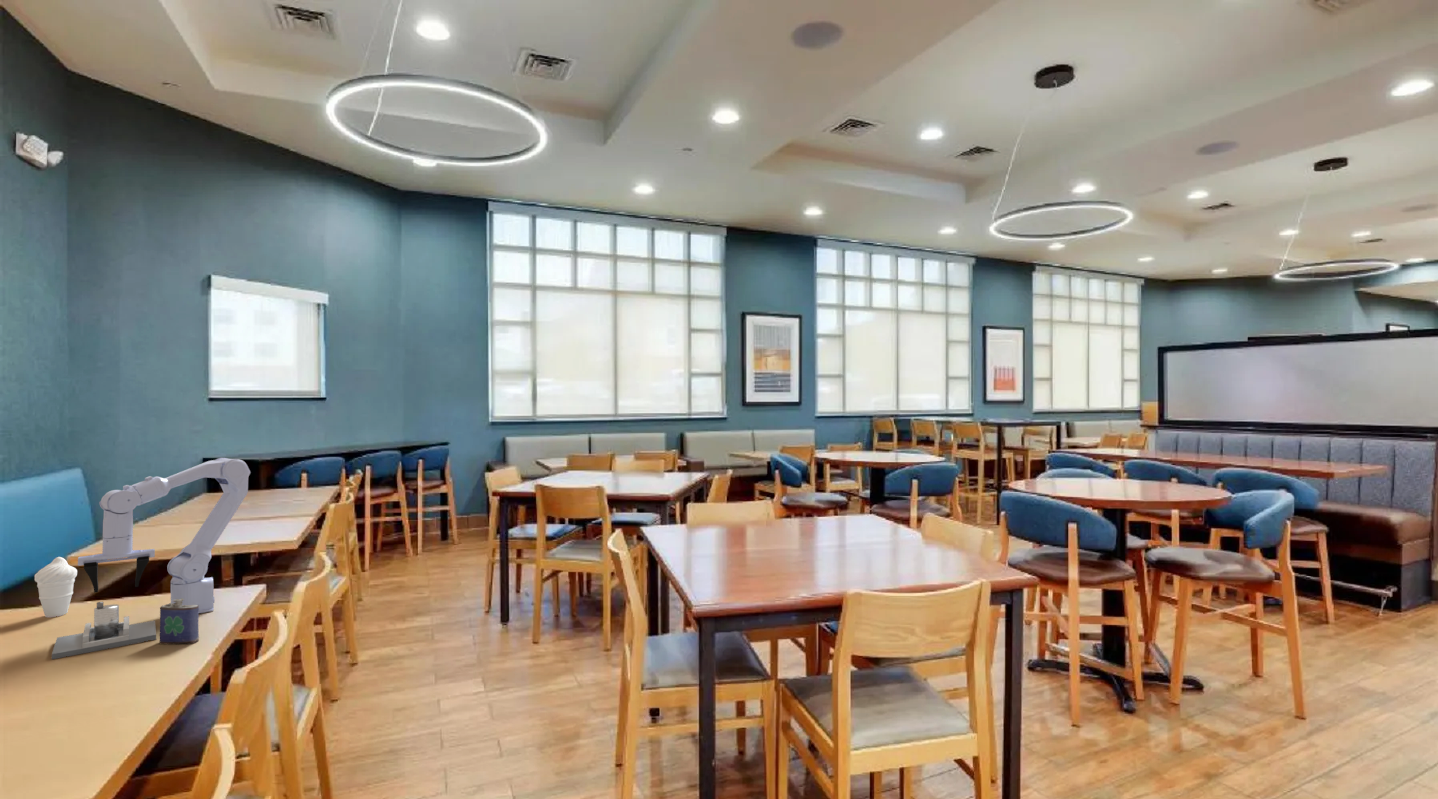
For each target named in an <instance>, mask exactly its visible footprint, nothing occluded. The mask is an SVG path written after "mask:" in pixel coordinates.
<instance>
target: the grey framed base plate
mask: <svg viewBox="0 0 1438 799" xmlns="http://www.w3.org/2000/svg"><path fill="white" fill-rule="evenodd" d="M156 628H157V627H156V620H148V621H144V622H137V623H133V624H132V623H131V624H130V616H123V621H121V622H120V621H119V634H118V635H115V636H112V637H108V638H102V639H95V638H94V626H92V622H87V623H85V624H84V629H83V632H80V633H74V634H70V635H64V636H59V637H56V640H55V644H54V646H53V649H52V652H51V660H55V659H57V660H58V659H62V658H66V656H67V657H72V656H76V655H81V654H82V655H83V654H88V653H92V652H98V651H103V650H109V649H114V648H119V647H124V646H129V644H130V645H135V644H140V643H145V642H144V641H146V642H149V641H148V640H151V641H154V640H155V641H156V640H157V630H156ZM108 648H109V649H108Z"/></svg>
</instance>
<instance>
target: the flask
mask: <svg viewBox="0 0 1438 799" xmlns="http://www.w3.org/2000/svg"><path fill="white" fill-rule="evenodd" d="M183 600H184V599H182V598H181V599H176V600H173V601H174V602H176V603H171V602H170V603H167V604H164V605H161V606H160V607H159V613H160V614H159V644H160V643H161V645H188V644H189V645H190V644H197V642H199V641H200V639H199V638H200V634H199V613H198V611H199V605H182V603H183V602H182V601H183Z"/></svg>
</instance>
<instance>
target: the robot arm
mask: <svg viewBox="0 0 1438 799" xmlns="http://www.w3.org/2000/svg"><path fill="white" fill-rule="evenodd" d="M251 473H252V472H251V470H250V468H249V466H248V464H247V463H246V462H245V461H244V460H242V459H239V458H228V457H219V458H216V459H213V460H212V459H211V460H208V461H204V462H203V463H200V464H197V465H194V466H193V467H192V466H191V467H189V468H187V469H185V470H181V471H179V472H178V473H174V474H172V475H169V476H168V477H161V476H157V475H156V476H151V475H149V476H147V477H144V480H142V481H139V482H137V483H136V482H135V483H134V484H131V485H129V484H125V485H123V486H122V490H121V489H112V490H110V491H107V492H105V494H104V495H102V497H101V500H100V501H99V502H98V503H99V506H100V508H101V509H102V510H103V520H102V550H101V551H102V553H98V554H91V555H84V556H78V557H77V566H83V570H84V571H85V573H86V574H87V576H88V578H89V579H90V581H91V584H92V586H93V587H92V588H93V593H99V580H98V575H99V573H98V572H99V564H101V563H110V562H117V561H128V560H135V559H136V566H135V567H136V570H135V571H136V572H135V580H134V588H139V585H140V581H141V577H142V575H143V574H144V570H145V568H147V565H148V564H149V562H150V558H155V556H156V554H155V553H156V552H155V551H156V549H155V548H149V549H148V548H147V549H134V550H133V546H134V545H133V544H134V543H133V542H134V540H133V538H134V537H133V536H134V535H133V534H134V517H133V516H134V511H133V510H135V509H136V507H137V506H138V507H139V506H142V505H144V504H146V503H149V502H152V501H155V500H157V499H160V498H163V497H165V496H168V494H169V492H170V491H171V489H174V488H176V487H177V488H178V487H180V486H183V485H186V484H189V483H192V482H195V481H197V480H200V479H204V478H209V479H210V478H211V479H215V480H216V481H217V482H218V483H219V485H220V487H221V489H222V491H223V493H222V495H221V496H220V498H219V499H218V501H217V503H216V504H215V506H214V507H213V508H212V510H211V511H210V513H209V515H208V516H206V517H207V518H206V519H205V520H204V522H203V523H202V525H201V526H200V528H199V529H198V531H197V532H196V534H195V536H194V537H193V539H192V540H191V541H190V543H189V544H188V545H186V546H185V547H183V548H182V549H181V550H180V551H179V553H178V554H177V555H175V556H174V557H172V558H171V559H170V560H169V562H168V564H167V566H166V567H167V572H168V575H170V576H172V578H171V580H170V603H176V602H174V601H173V600H176V599H181V598H182V599H184V600H183V601H182V602H183V603H182V605H199V611H198V614H203V613H208V612H213V611H214V610H215V609H214V604H215V596H214V594H215V593H214V577H213V576H211V577H205V575H206V574H207V572H208V569H209V567H208V566H209V562H210V561H211V559H212V549H213V548H214V546H215V545H216V543H217V542H218V540H219V538H220V537H221V536H222V534H223V533H224V531H225V529H226V527H227V526H228V525H229V523H230V522H231V520H232V518H233V516H234V515H235V513H236V512H237V511H238V508H240V506H241V504H242V503H243V501H244V500H245V498H246V497H247V495H248V493H249V492H248V491H249V476H250V475H251Z"/></svg>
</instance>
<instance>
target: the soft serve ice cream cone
mask: <svg viewBox="0 0 1438 799" xmlns="http://www.w3.org/2000/svg"><path fill="white" fill-rule="evenodd" d="M77 576H78V569H77V568H76V567H74V566H72V565H70V564H68V561H67V560H66V559H65V558H64V557H61V556H58V557H57V556H56V557H55V558H54V559H53V560H52V561H51V562H50V563H49V564H46V565H45V566H44V567H42V568H40V569H39V570H38V571H37V572H36V573H35V574H34V582H35V583H37V585H36V587H37V588H38V589H37V590H38V596H39V597H38V599H39V600H40V603H41V608H42V610H43V614H44V617H45V618H56V616H57V617H60V616H64V614H65V615H67V614H68V611H69V608H70V604H71V601H72V600H71V599H72V597H73V596H72V595H73V594H74V585H75V584H74V583H75V581H76V577H77ZM66 613H67V614H66Z"/></svg>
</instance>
